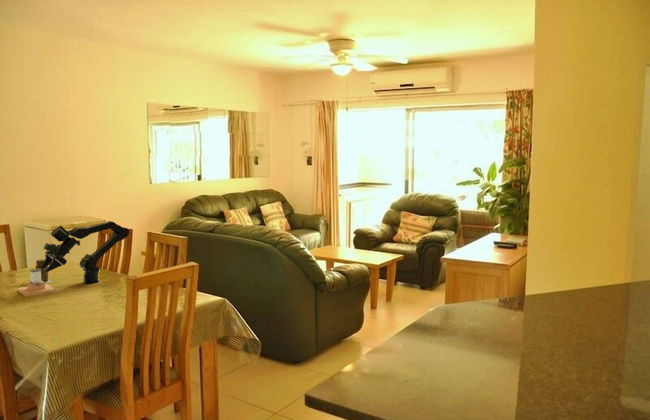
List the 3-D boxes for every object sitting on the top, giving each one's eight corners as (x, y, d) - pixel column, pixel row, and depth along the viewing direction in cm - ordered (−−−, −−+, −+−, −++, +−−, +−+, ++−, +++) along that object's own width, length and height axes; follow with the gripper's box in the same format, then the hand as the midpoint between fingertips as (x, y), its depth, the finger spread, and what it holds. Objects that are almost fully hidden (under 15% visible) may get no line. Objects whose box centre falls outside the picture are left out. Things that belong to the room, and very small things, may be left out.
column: (40, 286, 266) (39, 268, 265) (42, 288, 263) (41, 269, 262) (30, 288, 263) (29, 269, 262) (32, 290, 260) (31, 271, 259)
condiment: (48, 278, 289) (47, 258, 287) (51, 282, 282) (50, 261, 281) (33, 280, 284) (32, 260, 283) (36, 284, 278) (35, 262, 276)
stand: (47, 286, 273) (46, 277, 273) (55, 291, 263) (54, 282, 263) (18, 291, 263) (17, 281, 263) (25, 296, 253) (24, 287, 253)
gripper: (48, 235, 273) (26, 257, 267) (59, 240, 260) (36, 263, 253) (64, 247, 279) (43, 270, 273) (75, 253, 266) (54, 276, 260)
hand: (43, 269), depth 265 cm, fingers open, 9 cm apart
